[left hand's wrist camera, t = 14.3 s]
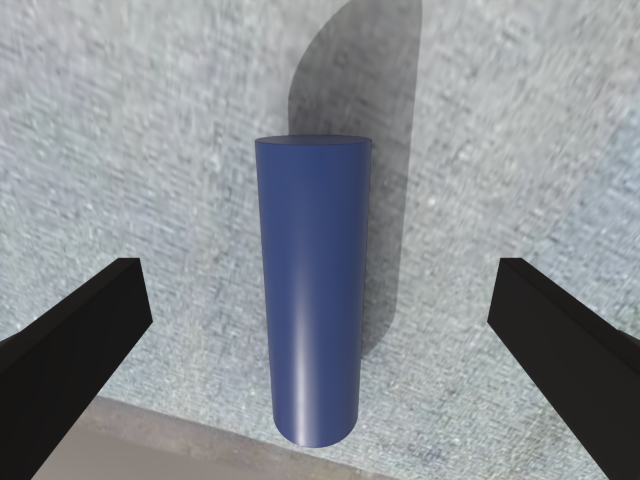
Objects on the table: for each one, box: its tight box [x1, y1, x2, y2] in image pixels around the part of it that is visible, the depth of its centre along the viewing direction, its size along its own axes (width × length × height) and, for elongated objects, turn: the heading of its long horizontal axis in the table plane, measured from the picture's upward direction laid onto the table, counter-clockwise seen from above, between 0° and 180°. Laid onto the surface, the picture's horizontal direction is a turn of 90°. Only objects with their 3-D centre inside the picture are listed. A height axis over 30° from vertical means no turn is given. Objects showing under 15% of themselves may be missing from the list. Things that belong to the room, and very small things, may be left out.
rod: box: [255, 135, 372, 448], centre depth 31 cm, size 27×9×9 cm, turn 0°
